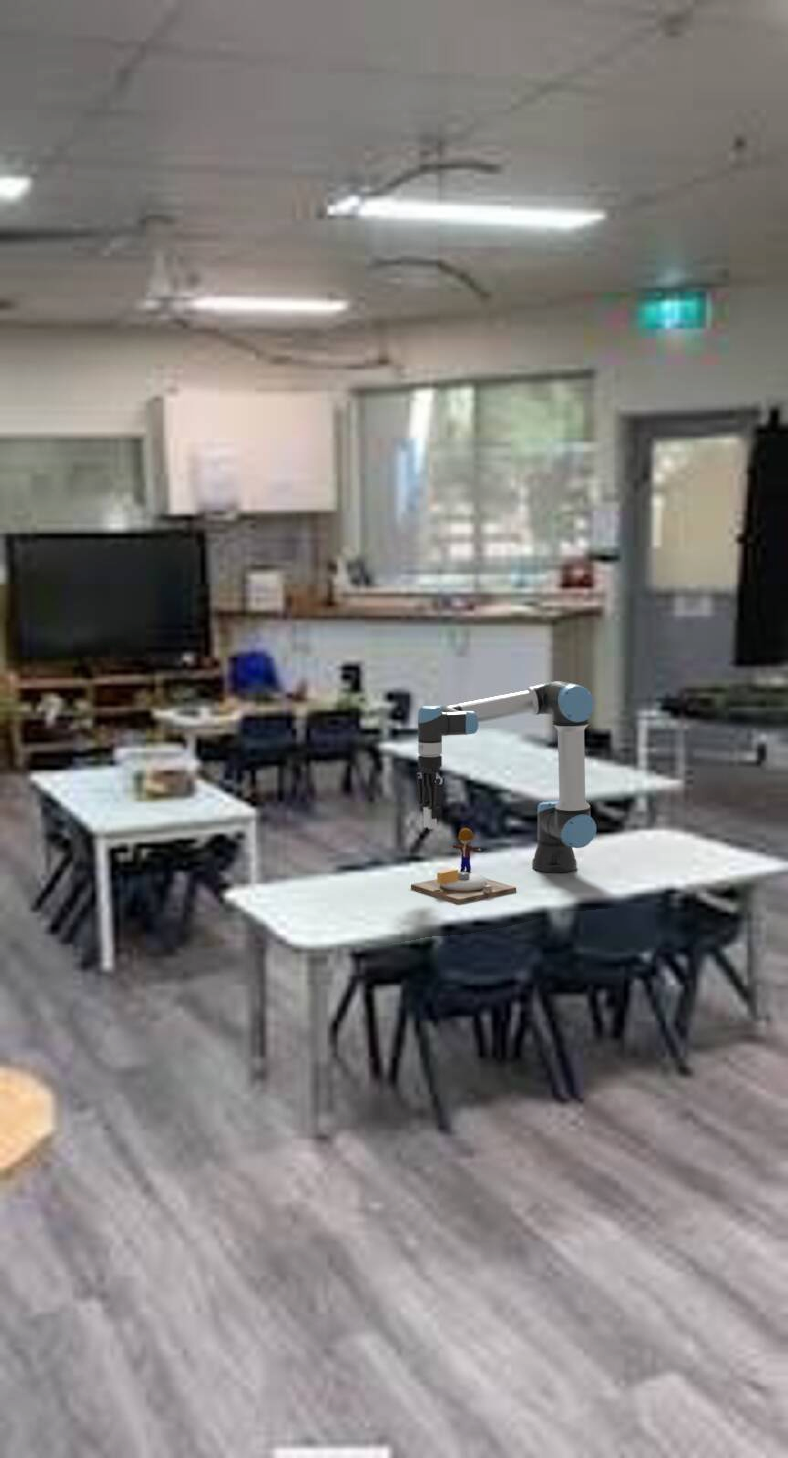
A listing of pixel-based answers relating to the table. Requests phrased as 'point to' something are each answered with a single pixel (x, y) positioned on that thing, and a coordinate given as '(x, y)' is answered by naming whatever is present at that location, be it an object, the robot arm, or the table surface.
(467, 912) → the table surface
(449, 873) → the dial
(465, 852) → the toy
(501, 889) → the board
